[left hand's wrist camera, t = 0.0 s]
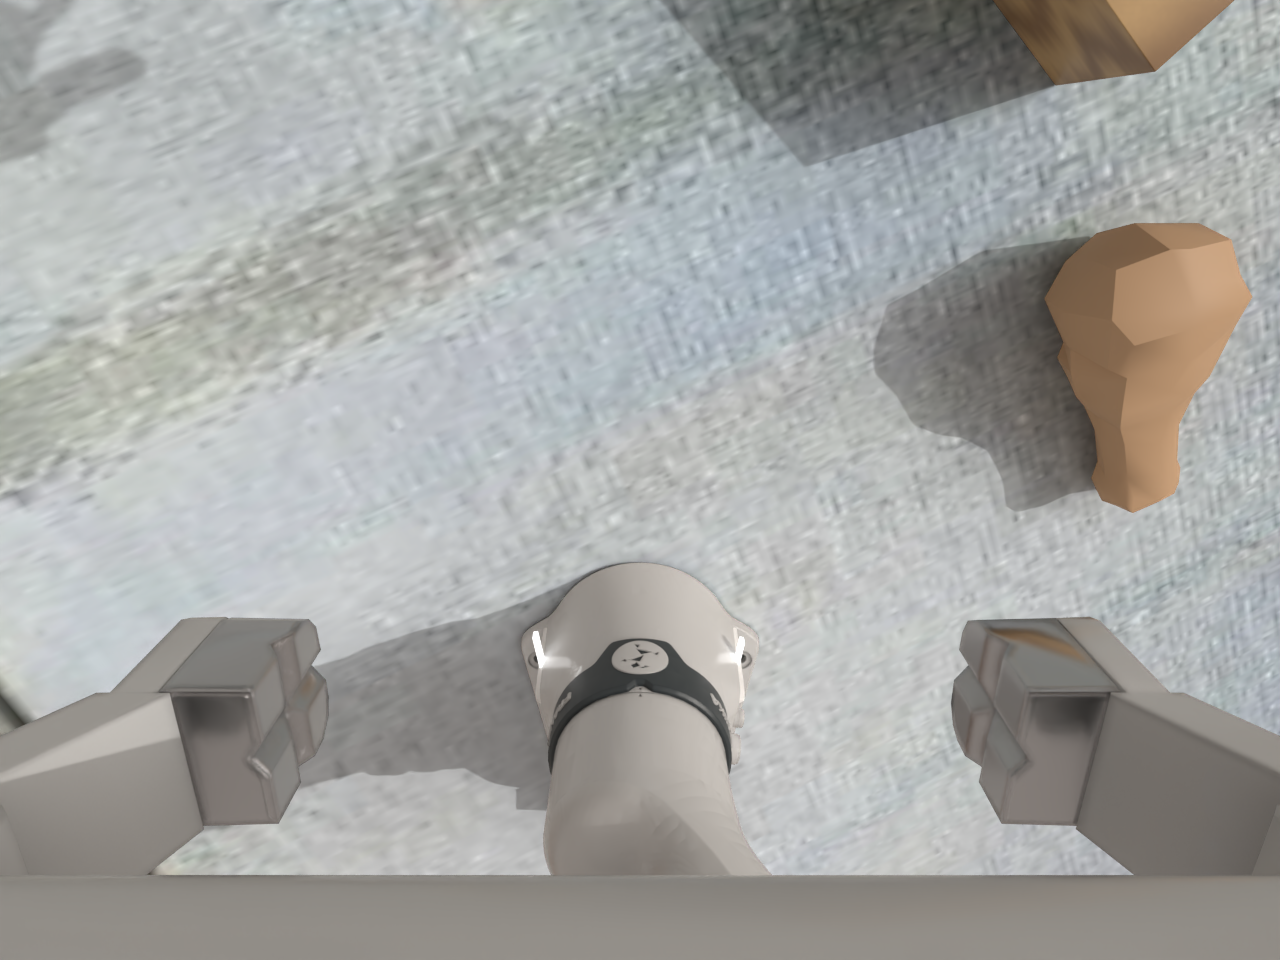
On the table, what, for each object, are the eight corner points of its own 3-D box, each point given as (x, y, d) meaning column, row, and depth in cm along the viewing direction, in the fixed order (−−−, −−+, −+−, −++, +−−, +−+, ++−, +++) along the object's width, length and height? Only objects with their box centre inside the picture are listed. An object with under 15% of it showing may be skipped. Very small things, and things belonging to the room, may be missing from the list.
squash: (1172, 182, 54) (1298, 201, 46) (1168, 446, 63) (1271, 500, 55) (1019, 238, 53) (1119, 268, 45) (1037, 496, 63) (1123, 557, 55)
